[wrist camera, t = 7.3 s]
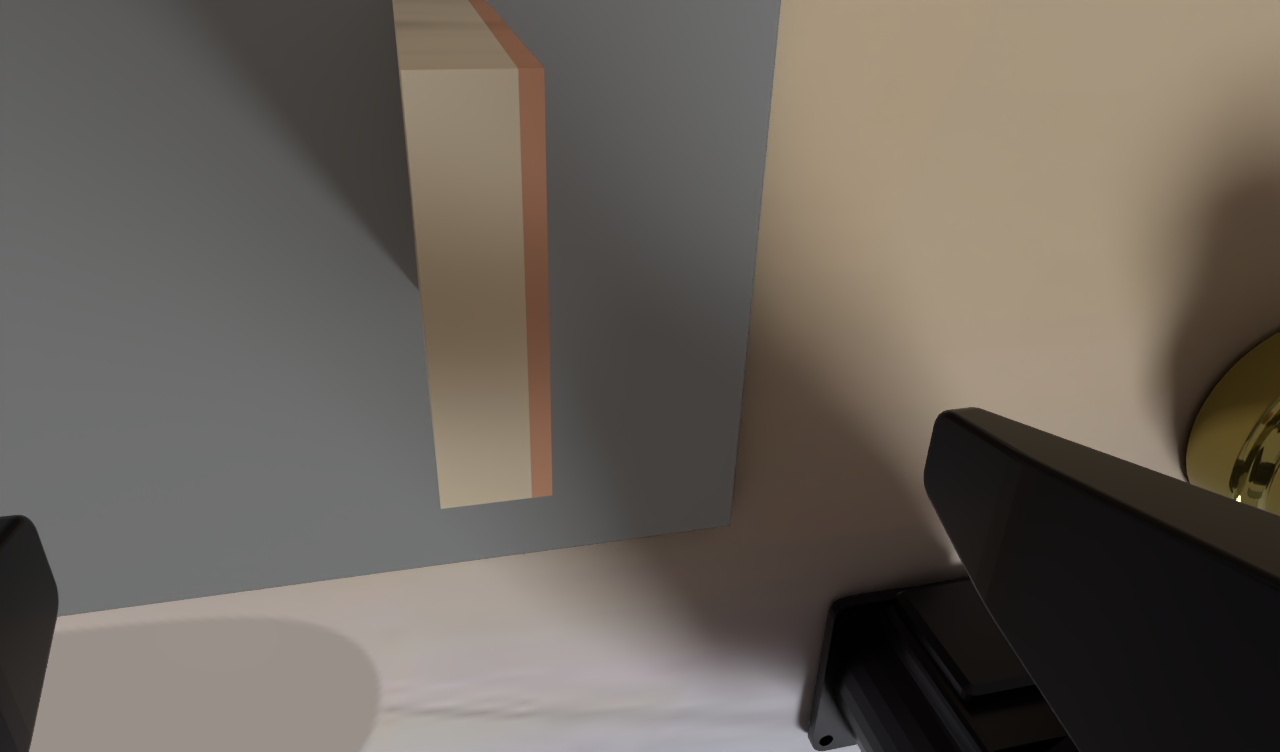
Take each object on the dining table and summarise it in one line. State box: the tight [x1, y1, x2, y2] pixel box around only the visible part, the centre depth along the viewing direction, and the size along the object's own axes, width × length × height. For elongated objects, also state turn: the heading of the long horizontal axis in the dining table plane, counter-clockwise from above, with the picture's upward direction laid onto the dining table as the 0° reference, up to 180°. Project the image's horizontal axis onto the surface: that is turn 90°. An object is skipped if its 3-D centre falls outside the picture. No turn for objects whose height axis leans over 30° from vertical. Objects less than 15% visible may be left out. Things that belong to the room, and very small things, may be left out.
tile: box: [392, 0, 552, 509], centre depth 15 cm, size 6×2×8 cm, turn 178°
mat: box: [0, 0, 781, 617], centre depth 18 cm, size 22×18×1 cm
